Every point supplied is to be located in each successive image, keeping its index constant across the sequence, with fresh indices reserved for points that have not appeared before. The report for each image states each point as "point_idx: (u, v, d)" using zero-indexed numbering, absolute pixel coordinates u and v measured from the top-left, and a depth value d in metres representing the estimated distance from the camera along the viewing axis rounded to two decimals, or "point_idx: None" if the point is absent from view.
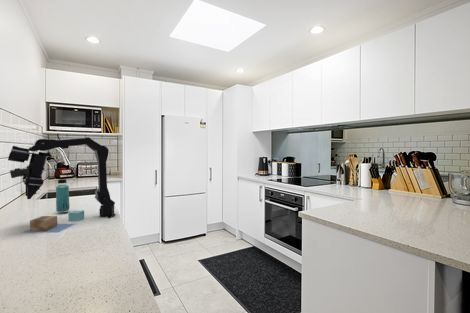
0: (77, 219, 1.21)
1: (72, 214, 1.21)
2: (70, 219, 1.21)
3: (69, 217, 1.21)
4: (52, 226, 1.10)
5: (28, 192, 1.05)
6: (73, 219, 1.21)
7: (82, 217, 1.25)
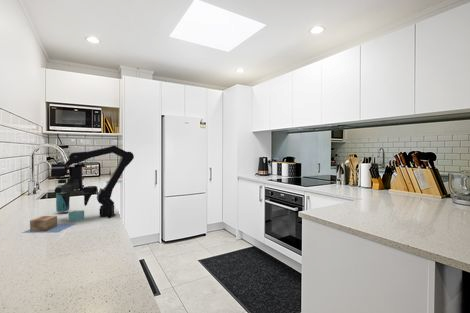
0: (77, 219, 1.21)
1: (72, 214, 1.21)
2: (70, 219, 1.21)
3: (69, 217, 1.21)
4: (52, 226, 1.10)
5: (86, 200, 1.23)
6: (73, 219, 1.21)
7: (82, 217, 1.25)
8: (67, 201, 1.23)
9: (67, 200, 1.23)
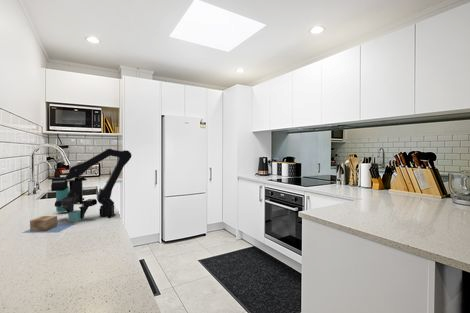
0: (77, 219, 1.21)
1: (72, 214, 1.21)
2: (70, 219, 1.21)
3: (69, 217, 1.21)
4: (52, 226, 1.10)
5: (82, 213, 1.23)
6: (73, 219, 1.21)
7: None
8: None
9: None
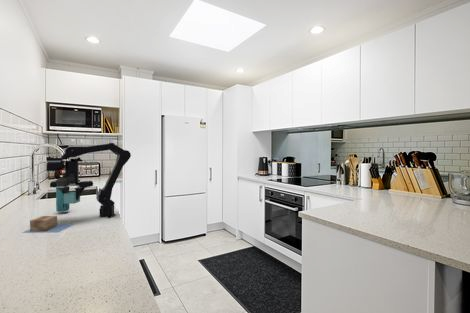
0: (72, 200, 1.19)
1: (67, 195, 1.19)
2: (65, 200, 1.19)
3: (64, 198, 1.19)
4: (52, 226, 1.10)
5: (78, 194, 1.21)
6: (68, 200, 1.19)
7: None
8: None
9: None
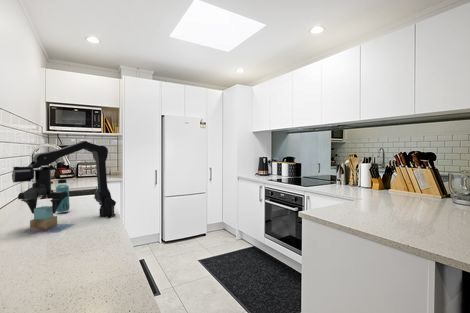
0: (44, 216, 1.07)
1: (38, 210, 1.07)
2: (36, 216, 1.07)
3: (35, 213, 1.07)
4: (52, 226, 1.10)
5: (55, 207, 1.09)
6: (39, 216, 1.07)
7: (50, 214, 1.10)
8: (33, 208, 1.09)
9: (33, 207, 1.09)
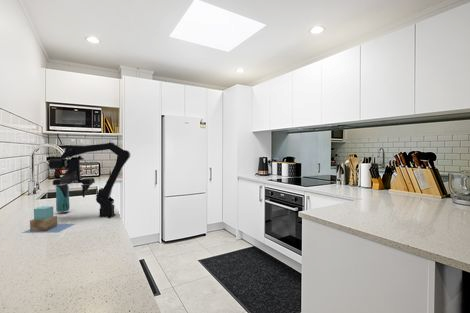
0: (44, 216, 1.07)
1: (38, 210, 1.07)
2: (36, 216, 1.07)
3: (35, 213, 1.07)
4: (52, 226, 1.10)
5: (84, 191, 1.26)
6: (39, 216, 1.07)
7: (50, 214, 1.10)
8: (65, 193, 1.26)
9: (65, 192, 1.26)
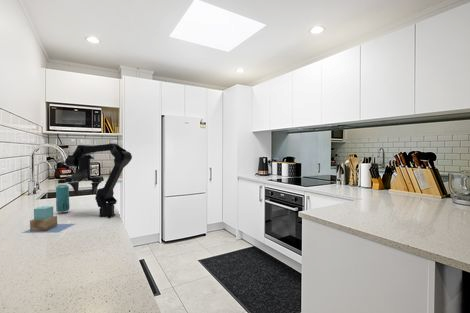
0: (44, 216, 1.07)
1: (38, 210, 1.07)
2: (36, 216, 1.07)
3: (35, 213, 1.07)
4: (52, 226, 1.10)
5: (94, 189, 1.33)
6: (39, 216, 1.07)
7: (50, 214, 1.10)
8: (76, 190, 1.34)
9: (76, 189, 1.34)
